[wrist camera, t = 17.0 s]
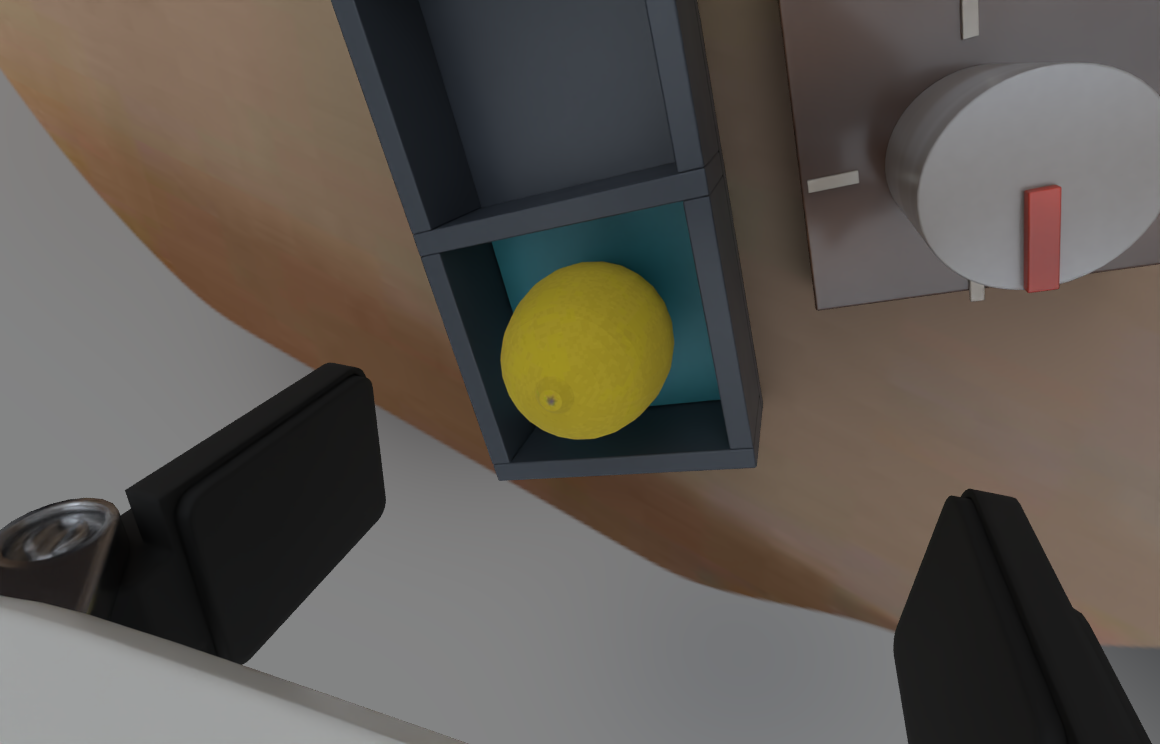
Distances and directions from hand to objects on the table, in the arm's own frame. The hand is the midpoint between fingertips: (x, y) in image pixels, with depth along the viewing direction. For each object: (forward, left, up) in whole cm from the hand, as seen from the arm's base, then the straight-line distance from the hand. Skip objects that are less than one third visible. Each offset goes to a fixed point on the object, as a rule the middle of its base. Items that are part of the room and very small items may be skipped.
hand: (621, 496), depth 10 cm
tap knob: (-2, +8, -12) cm, 15 cm away
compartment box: (-3, -4, -16) cm, 16 cm away
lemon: (+1, -4, -15) cm, 15 cm away
